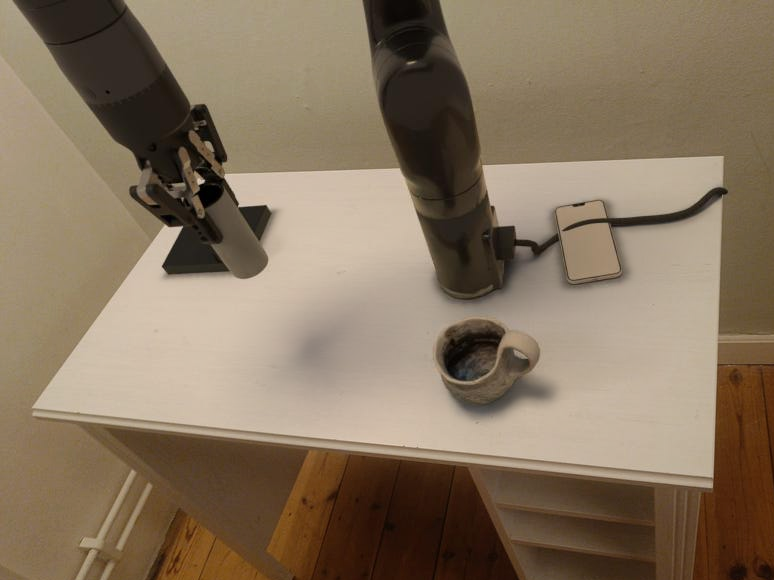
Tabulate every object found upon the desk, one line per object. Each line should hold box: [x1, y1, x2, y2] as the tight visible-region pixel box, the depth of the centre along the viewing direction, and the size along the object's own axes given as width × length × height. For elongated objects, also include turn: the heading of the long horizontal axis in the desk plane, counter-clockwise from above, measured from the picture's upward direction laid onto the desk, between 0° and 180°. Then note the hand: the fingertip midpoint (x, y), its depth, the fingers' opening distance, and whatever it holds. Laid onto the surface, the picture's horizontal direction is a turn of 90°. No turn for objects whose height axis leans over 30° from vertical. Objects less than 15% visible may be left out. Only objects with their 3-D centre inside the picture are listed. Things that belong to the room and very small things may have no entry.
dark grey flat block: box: [161, 204, 272, 275], centre depth 99 cm, size 14×13×4 cm
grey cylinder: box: [182, 182, 269, 280], centre depth 67 cm, size 4×4×10 cm
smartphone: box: [553, 199, 623, 285], centre depth 85 cm, size 7×1×15 cm
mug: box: [432, 315, 541, 406], centre depth 71 cm, size 10×12×10 cm
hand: (222, 224), depth 66 cm, fingers closed on grey cylinder, 4 cm apart
